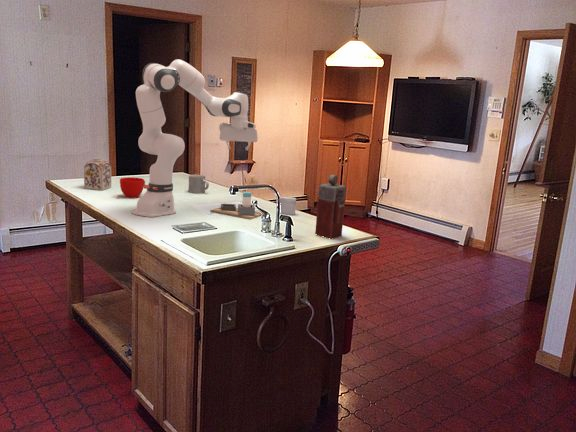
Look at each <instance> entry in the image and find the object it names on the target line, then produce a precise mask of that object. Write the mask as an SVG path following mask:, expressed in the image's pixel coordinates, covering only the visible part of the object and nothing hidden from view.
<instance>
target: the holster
mask: <svg viewBox="0 0 576 432" xmlns="http://www.w3.org/2000/svg"><path fill="white" fill-rule="evenodd" d="M236 206H237V205H236V203H234V204H233V203H220V207H221V211H236V208H237V207H236Z"/></svg>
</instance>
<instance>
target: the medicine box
mask: <svg viewBox="0 0 576 432" xmlns="http://www.w3.org/2000/svg"><path fill="white" fill-rule="evenodd" d="M280 202H281V213H284V214H283V215H287V216H288V215H289V216H294V215H295V214H296V207H297V206H296V205H297V204H296V203H297V198H296V197H289V196H281V197H280V198H279V203H280Z"/></svg>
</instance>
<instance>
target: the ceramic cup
mask: <svg viewBox="0 0 576 432" xmlns="http://www.w3.org/2000/svg"><path fill="white" fill-rule="evenodd" d="M119 185H120V186H119V187H120V190H121V192H122V194H123V195H124V197H125V198H128V199H135V198H138V197H140V195H142V193H143V190H144V188H143V186H144V185H146V180H145V179H144V178H140V177H130V176H129V177H121V178H119Z"/></svg>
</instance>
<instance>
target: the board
mask: <svg viewBox="0 0 576 432" xmlns="http://www.w3.org/2000/svg"><path fill="white" fill-rule="evenodd" d="M209 212H210V213H214V214H219V215H224V216H231V217H235V218H239V219H246V220H253V219H255V218H259V217H262V216H261V213H262V212H261V211H256V210H255V216H247V215H239V214H238V207H236V211H221V206H219V207H217V208H214V209H210V211H209ZM260 212H261V213H260Z"/></svg>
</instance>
